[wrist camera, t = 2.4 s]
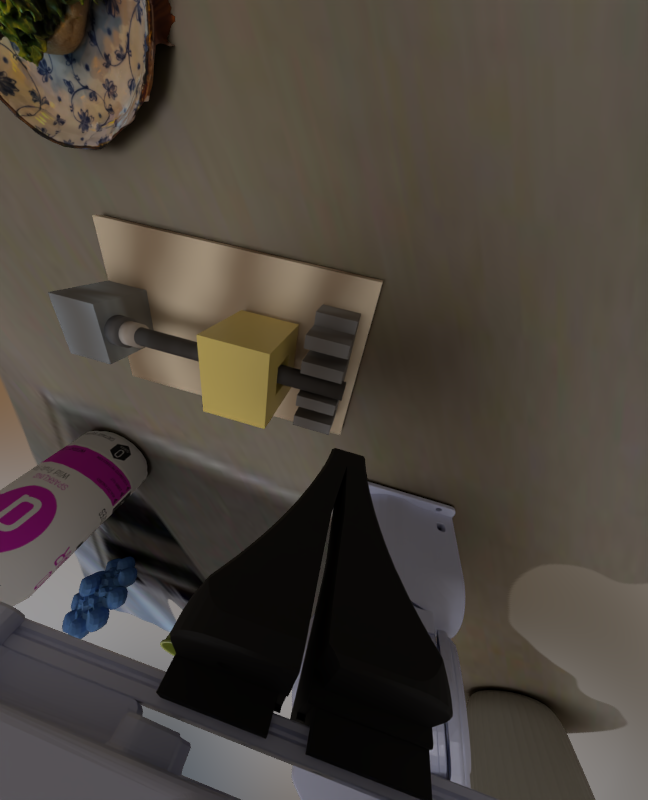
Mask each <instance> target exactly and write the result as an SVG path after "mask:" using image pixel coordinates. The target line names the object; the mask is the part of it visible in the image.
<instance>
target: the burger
mask: <svg viewBox="0 0 648 800" xmlns="http://www.w3.org/2000/svg"><path fill="white" fill-rule="evenodd" d="M174 21H175V16H173V15H172V14H171V7H170V4H169V2H168V0H0V100H1V101H2V102H3V103H4V104H5V105H6V106H7V107H8V108H9V110H10V111H11V112H12V113H13V114H14V115H15V116H16V117H18V118H19V119H20V120H22V121H23V122H24V123H26V124H27V125H28V126H29V127H30V128H31V129H33V130H34V131H35V132H36V133H38V134H39V135H40V136H42V137H44V138H46V139H48V140H50V141H52V142H54V143H57V144H59V145H61V146H64V147H71V148H79V149H90V150H98V149H102V148H103V147H105V146H106V145H107V144H108V143H109V142H111V140H112V139H113V138H114V137H115V136H116V135H117V134H119V133H120V132H121V131H122V130H123V129H124V128H125V127H127V126H128V125H130V124H131V123H132V122H133V121H134V119H135V118H136V113H137V112H138V110H139V109H140V107H141V106H142V104H143V102H145V101H149V95H150V91H151V88H152V84H153V70H154V58H155V51H156V48H155V45H157V44H159V43H162V44H165V45H168V46H175V45H173V44H171V43H169V42H168V40H167V36H168V35H169V32H170V28H171V25H172V24H173V23H174Z"/></svg>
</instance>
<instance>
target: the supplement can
mask: <svg viewBox="0 0 648 800" xmlns="http://www.w3.org/2000/svg"><path fill="white" fill-rule="evenodd" d="M147 474H148V472H147V462H146V459H145V458H144V456H143V454H142V453H141V452H140V451H139V450H138V449H137V448H136V446H135V445H134V444H132V443H131V442H129V441H128V440H127V439H125V438H124V437H121V436H119V435H117V434H115V433H112V432H107V431H101V432H100V431H90V432H87V433H85V434H84V435H82V436H81V437H79V438H78V439H76V440H75V441H73V442H72V443H70V444H69V445H67V446H66V447H64V448H63V449H61V450H60V451H58V452H57V453H55V454H54V455H52V456H51V457H49V458H48V459H46V460H45V461H43V462H42V463H40V464H39V465H37V466H36V467H34V468H33V469H31V470H30V471H28V472H27V473H25V474H24V475H23V476H21V477H20V478H18V479H16V480H15V481H14V482H12V483H11V484H9V485H7V486H6V487H5V488H3V489H2V490H0V601H1V602H3V603H6V604H8V605H10V606H14V605H16V604H18V603H20V602H22V601H24V600H25V599H27V598H29V597H30V596H31V595H32V594H33V593H34V592H35V591H36V590H37V589H38V588H39V587H40V586H41V585H42V584H43V583H44V582H45V581H46V580H47V579H48V578H49V577H50V576H51V575H52V574H53V573H54V572H55V571H56V570H57V569H58V568H59V567H60V566H61V565H62V564H63V563H64V562H65V561H66V560H67V559H68V558H69V557H70V556H71V555H72V554H73V553H74V552H75V551H76V550H77V549H78V548H79V547H80V546H81V545H82V544H83V542H84V541H85V540H86V539H87V538H88V537H89V536H90V535H91V534H92V533H93V532H94V531H95V530H96V529H97V528H98V527H99V526H100V525H101V524H102V523H103V522H104V521H105V520H106V519H107V518H108V517H109V516H110V515H111V514H112V513H113V512H114V511H115V510H116V509H117V508H118V507H119V506H120V505H121V504H122V503H123V502H124V501H125V500H126V499H127V498H128V497H129V496H130V495H131V494H132V493H133V492H134V491H135V490H136V489H137V488H138V487H139V486H140V485H141V484H142V483H143V482H144V481H145V480H146V477H147Z"/></svg>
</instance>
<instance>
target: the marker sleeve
mask: <svg viewBox="0 0 648 800" xmlns="http://www.w3.org/2000/svg"><path fill="white" fill-rule="evenodd" d="M298 328H299V324H295V323H291V322H287V321H283V320H279V319H275V318H271V317H267V316H263V315H259V314H255V313H251V312H247V311H243V310H241V311H239V312H237V313H235V314H233V315H232V316H230V317H228V318H226V319H224V320H222V321H221V322H219V323H217V324H215V325H213V326H211V327H210V328H208V329H206V330H204V331H202V332H200V333H199V334H197V335H196V336H197V347H198V358H199V369H200V379H201V390H202V401H203V411H205V412H208V413H211V414H215V415H218V416H222V417H225V418H229V419H232V420H236V421H239V422H242V423H246V424H249V425H253V426H256V427H260V428H263V429H265V427H266V426H267V424H268V423H269V421H270V420H271V418H272V417H273V415H274V414H275V412H276V410H277V409H278V407H279V406H280V404H281V403H282V401H283V400H284V398H285V397H286V395H287V393H288V392H289V390H290V389H291V387H289V386H285V385H282V384H278V383H277V373H278V367H279V366H280V365H285V366H288V367H292V368H293V367H294V359H295V351H296V343H297V336H298Z"/></svg>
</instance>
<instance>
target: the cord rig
mask: <svg viewBox="0 0 648 800" xmlns="http://www.w3.org/2000/svg"><path fill="white" fill-rule="evenodd" d="M92 216H93V220H94V224H95V228H96V232H97V236H98V240H99V244H100V248H101V252H102V256H103V260H104V264H105V268H106V272H107V275H108V279H109V281H104V282H99V283H94V284H89V285H83V286H78V287H73V288H68V289H62V290H57V291H52V292H48V294H49V296H50V299H51V302H52V304H53V307H54V310H55V312H56V315H57V317H58V320H59V323H60V325H61V328H62V331H63V333H64V336H65V339H66V341H67V344H68V346H69V349H70V352H71V353H73V354H76V355H80V356H83V357H87V358H90V359H94V360H97V361H101V362H104V363H108V364H112V363H114V362H116V361H118V360H120V359H123V358H125V357H127V356H128V358H129V362H130V366H131V370H132V374H133V376H136V377H139V378H143V379H146V380H150V381H153V382H157V383H160V384H164V385H167V386H171V387H174V388H178V389H181V390H185V391H188V392H192V393H195V394H198V395H202V390H201V379H200V369H199V358H198V347H197V336H196V335H197V334H199V333H200V332H202V331H204V330H206V329H208V328H210V327H211V326H213V325H215V324H217V323H219V322H221V321H222V320H224V319H226V318H228V317H230V316H232V315H233V314H235V313H237V312H239V311H241V310H243V311H247V312H251V313H255V314H259V315H263V316H267V317H271V318H275V319H279V320H283V321H287V322H291V323H295V324H299V328H298V336H297V343H296V351H295V359H294V367H293V368H292V367H288V366H285V365H280V366H279V367H278V373H277V383H278V384H282V385H285V386H289V387H291V389H290V390H289V392H288V393H287V395H286V397H285V398H284V400H283V401H282V403H281V404H280V406H279V407H278V409H277V410H276V412H275V414H274V415H273V416H275V417H279V418H282V419H286V420H289V421H293V425H296V426H299V427H303V428H306V429H310V430H313V431H317V432H320V433H324V434H327V435H329V432H331V433H335V434H338V435H340V433H341V429H342V426H343V422H344V418H345V415H346V411H347V408H348V404H349V401H350V397H351V393H352V390H353V386H354V383H355V379H356V376H357V372H358V368H359V365H360V361H361V358H362V354H363V351H364V347H365V343H366V340H367V336H368V333H369V329H370V326H371V322H372V319H373V315H374V311H375V308H376V304H377V301H378V297H379V294H380V290H381V286H382V283H383V280H379V279H374V278H370V277H366V276H362V275H357V274H353V273H349V272H344V271H340V270H336V269H332V268H327V267H323V266H319V265H314V264H310V263H306V262H302V261H297V260H293V259H289V258H284V257H280V256H276V255H272V254H267V253H263V252H259V251H255V250H250V249H246V248H242V247H237V246H233V245H229V244H225V243H220V242H216V241H212V240H207V239H203V238H199V237H195V236H190V235H186V234H182V233H177V232H173V231H169V230H165V229H160V228H156V227H152V226H147V225H143V224H139V223H135V222H130V221H126V220H122V219H117V218H113V217H109V216H105V215H92Z"/></svg>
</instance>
